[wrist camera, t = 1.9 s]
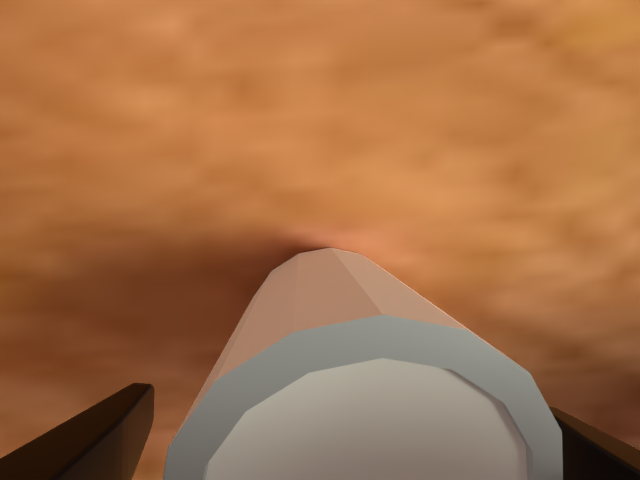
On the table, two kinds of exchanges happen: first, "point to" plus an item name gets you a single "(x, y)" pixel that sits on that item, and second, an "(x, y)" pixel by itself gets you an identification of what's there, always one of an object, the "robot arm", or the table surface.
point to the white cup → (361, 389)
